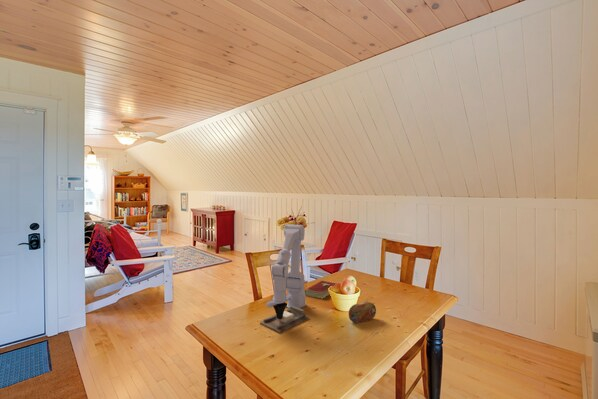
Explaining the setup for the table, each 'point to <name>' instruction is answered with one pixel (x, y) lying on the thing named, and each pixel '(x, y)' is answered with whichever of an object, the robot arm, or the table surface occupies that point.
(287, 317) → the block
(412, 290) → the table surface
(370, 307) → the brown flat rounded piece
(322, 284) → the hardcover book
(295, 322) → the brown and grey tray
